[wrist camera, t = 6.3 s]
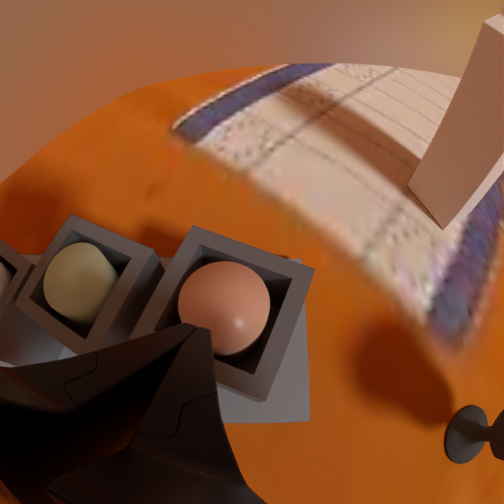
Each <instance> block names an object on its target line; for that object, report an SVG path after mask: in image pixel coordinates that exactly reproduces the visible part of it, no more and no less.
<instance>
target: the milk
mask: <svg viewBox="0 0 504 504" xmlns="http://www.w3.org/2000/svg"><path fill="white" fill-rule="evenodd" d="M503 170H504V5H503V8H502V11H501V13H499V14H497V15H495V16H493V17H491V18H489V19H487V20H485V21H484V22H483V24H482V27H481V30H480V33H479V36H478V38H477V41H476V44H475V47H474V49H473V52H472V54H471V57H470V59H469V62H468V64H467V67H466V69H465V71H464V74H463V76H462V78H461V81H460V83H459V85H458V88H457V90H456V92H455V94H454V96H453V99H452V101H451V103H450V105H449V107H448V109H447V111H446V113H445V115H444V117H443V119H442V122H441V124H440V126H439V128H438V130H437V131H436V133H435V135H434V137H433V139H432V141H431V143H430V145H429V147H428V149H427V151H426V153H425V154H424V156H423V158H422V160H421V162H420V164H419V165H418V167H417V169H416V171H415V172H414V174H413V176H412V178H411V179H410V181H409V183H408V185H407V186H408V187H409V188H410V189H411V191H412V192H413V193H414V194H415V195H416V196H417V198H418V199H419V200H420V201H421V202H422V204H423V205H424V206H425V207H426V209H427V210H428V211H429V212H430V213H431V215H432V216H433V217H434V219H435V220H436V221H437V222H438V224H439V225H440V226H441V228H442V229H443V230H445V229H446V228H448V227H449V226H451V225H452V224H454V223H455V222H457V221H458V220H460V219H461V218H463V217H464V216H465V215H467V214H468V213H470V212H471V211H472V210H473V208H474V207H475V206H476V205H477V204H478V202H479V201H480V200H481V199H482V197H483V196H484V195H485V194H486V192H487V191H488V190H489V189H490V187H491V186H492V185H493V184H494V182H495V181H496V180H497V178H498V177H499V176H500V174H501V173H502V172H503Z"/></svg>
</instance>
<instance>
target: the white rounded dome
mask: <svg viewBox="0 0 504 504" xmlns="http://www.w3.org/2000/svg"><path fill="white" fill-rule="evenodd" d="M14 276H15V274H14V273H13V272H12V271H10V270H9V269H8V268H7V267H6V266H4V265H3V264H2V263H1V262H0V301H1V299H2V298H3V296H4V294H5V292H6V290H7V288H8V286H9V284H10V283H11V281H12V279H13V277H14Z"/></svg>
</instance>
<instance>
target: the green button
mask: <svg viewBox="0 0 504 504" xmlns="http://www.w3.org/2000/svg"><path fill="white" fill-rule="evenodd" d="M120 277H121V276H120V275H119V274H118V273H117V272H116V270H115V269H114V268H113V267H112V265H111V264H110V263H109V262H108V260H107V259H106V258H105V256H104V255H103V254H102V253H101V251H100V250H99V249H98V248H97V247H95V246H94V245H92V244H89V243H75V244H72V245H69V246H67V247H66V248H64V249H62V250H61V251H60V252H59V253H58V254H57V255H56V256H55V257H54V258H53V260H52V261H51V262H50V264H49V266H48V268H47V270H46V273H45V277H44V294H45V297H46V300H47V302H48V303H49V305H50V306H51V307H52V308H53V309H54V310H56V311H57V312H59V313H60V314H62V315H63V316H65V317H66V318H68V319H69V320H71V321H73V322H74V323H76V324H77V325H79V326H81V327H82V328H84V329H86V330H87V331H89V332H90V330H91V328H92V327H93V325H94V323H95V321H96V319H97V317H98V315H99V314H100V312H101V310H102V308H103V306H104V304H105V303H106V301H107V299H108V297H109V296H110V294H111V292H112V290H113V289H114V287H115V285H116V283H117V282H118V280H119V278H120Z"/></svg>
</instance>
